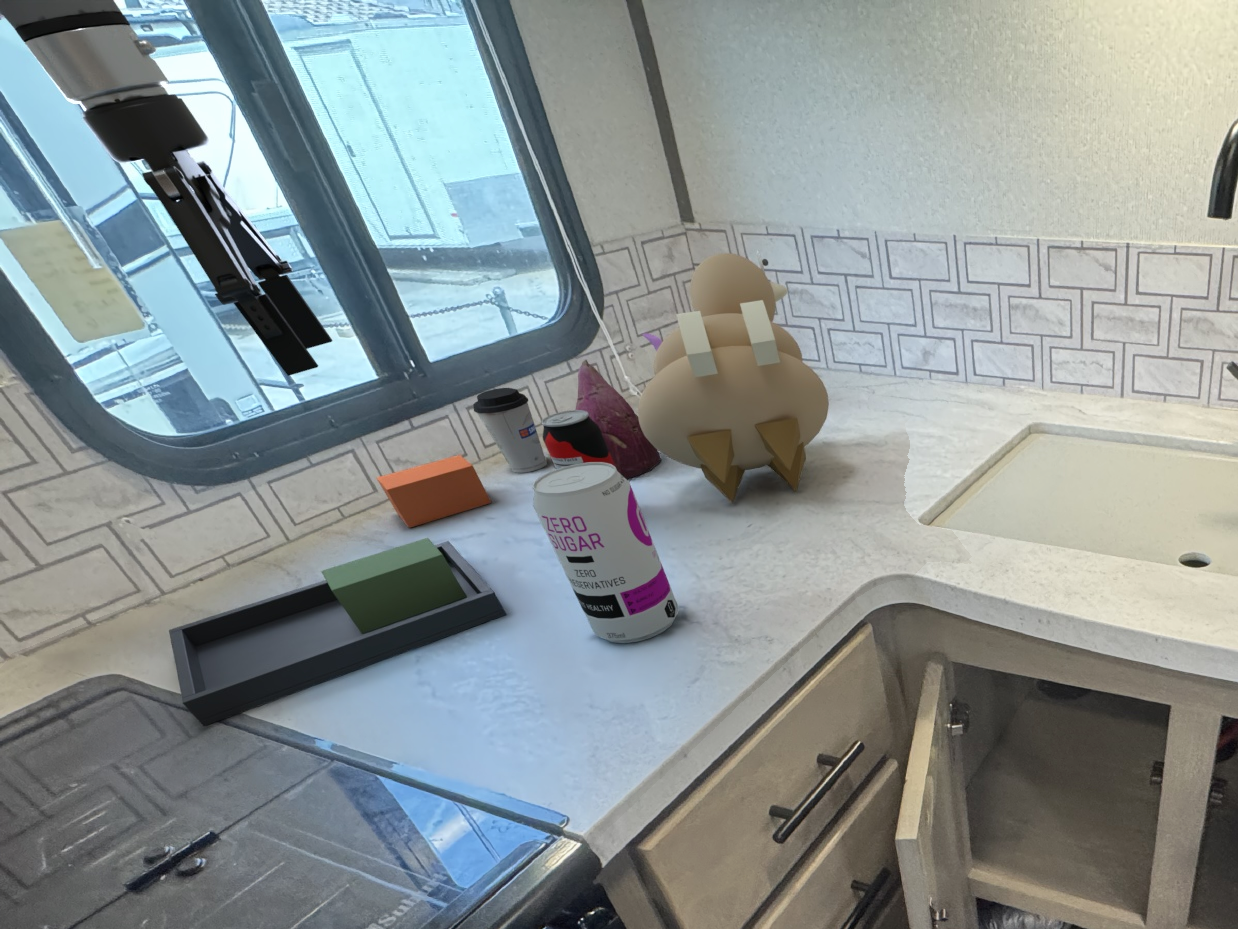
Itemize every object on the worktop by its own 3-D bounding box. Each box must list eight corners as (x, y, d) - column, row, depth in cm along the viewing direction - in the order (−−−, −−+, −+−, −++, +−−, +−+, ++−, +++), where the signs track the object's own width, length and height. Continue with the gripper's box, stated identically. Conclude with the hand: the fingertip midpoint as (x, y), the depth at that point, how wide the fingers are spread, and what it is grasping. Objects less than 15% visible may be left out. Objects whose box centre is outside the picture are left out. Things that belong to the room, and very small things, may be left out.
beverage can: (642, 511, 105) (604, 412, 97) (599, 530, 101) (555, 429, 93) (612, 502, 108) (573, 405, 100) (569, 520, 104) (524, 422, 96)
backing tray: (187, 651, 85) (168, 629, 83) (460, 561, 97) (448, 540, 95) (203, 726, 74) (182, 703, 73) (506, 614, 87) (494, 592, 85)
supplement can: (678, 597, 87) (622, 453, 77) (682, 634, 81) (622, 484, 72) (597, 615, 85) (529, 470, 76) (595, 654, 80) (521, 503, 70)
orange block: (398, 515, 109) (375, 477, 106) (479, 491, 114) (460, 454, 110) (409, 528, 105) (386, 489, 102) (491, 502, 110) (472, 465, 107)
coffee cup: (494, 477, 117) (458, 403, 111) (516, 459, 122) (482, 387, 116) (543, 474, 117) (509, 399, 110) (563, 455, 122) (532, 383, 116)
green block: (350, 614, 88) (320, 570, 84) (452, 579, 92) (427, 537, 89) (362, 634, 84) (331, 590, 81) (467, 597, 89) (442, 554, 86)
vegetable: (604, 482, 122) (553, 371, 115) (672, 464, 122) (625, 352, 115) (578, 492, 113) (521, 372, 106) (652, 472, 113) (600, 351, 106)
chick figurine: (775, 162, 90) (552, 186, 85) (847, 415, 90) (629, 454, 86) (796, 322, 119) (631, 347, 114) (850, 512, 120) (688, 545, 115)
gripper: (137, 86, 65) (338, 371, 79) (204, 92, 82) (359, 325, 97) (25, 109, 63) (251, 396, 78) (117, 110, 80) (289, 345, 95)
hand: (312, 357), depth 87 cm, fingers open, 13 cm apart
